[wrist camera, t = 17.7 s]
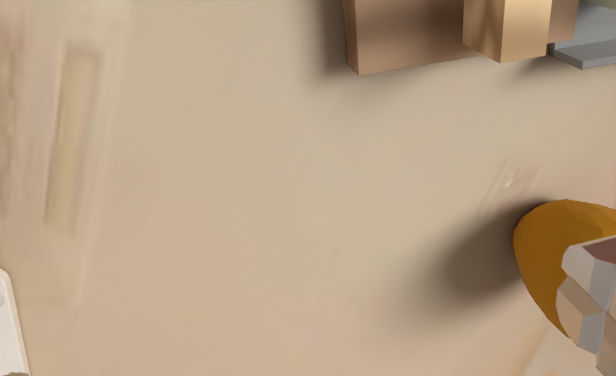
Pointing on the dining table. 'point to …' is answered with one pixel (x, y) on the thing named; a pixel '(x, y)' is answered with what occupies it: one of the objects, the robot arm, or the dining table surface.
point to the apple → (556, 245)
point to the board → (422, 32)
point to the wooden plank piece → (507, 28)
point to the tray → (589, 38)
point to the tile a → (604, 3)
